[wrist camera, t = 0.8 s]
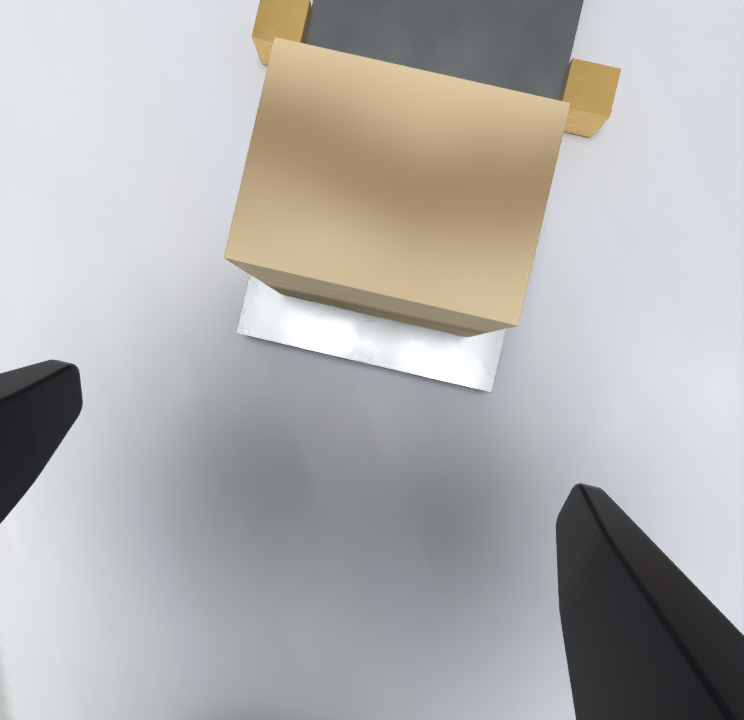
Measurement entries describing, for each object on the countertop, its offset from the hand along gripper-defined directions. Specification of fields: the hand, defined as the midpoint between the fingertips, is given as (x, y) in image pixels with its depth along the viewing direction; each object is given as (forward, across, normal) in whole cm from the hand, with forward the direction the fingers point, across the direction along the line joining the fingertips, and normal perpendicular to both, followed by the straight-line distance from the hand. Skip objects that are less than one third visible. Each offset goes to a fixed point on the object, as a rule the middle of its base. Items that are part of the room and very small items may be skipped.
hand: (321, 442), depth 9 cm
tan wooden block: (+14, 0, +1) cm, 14 cm away
